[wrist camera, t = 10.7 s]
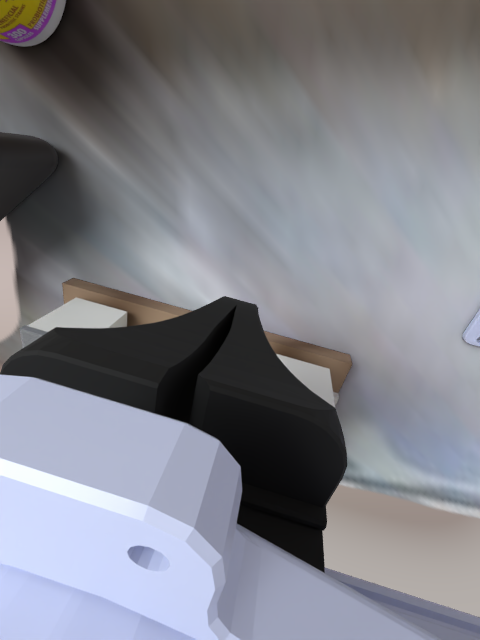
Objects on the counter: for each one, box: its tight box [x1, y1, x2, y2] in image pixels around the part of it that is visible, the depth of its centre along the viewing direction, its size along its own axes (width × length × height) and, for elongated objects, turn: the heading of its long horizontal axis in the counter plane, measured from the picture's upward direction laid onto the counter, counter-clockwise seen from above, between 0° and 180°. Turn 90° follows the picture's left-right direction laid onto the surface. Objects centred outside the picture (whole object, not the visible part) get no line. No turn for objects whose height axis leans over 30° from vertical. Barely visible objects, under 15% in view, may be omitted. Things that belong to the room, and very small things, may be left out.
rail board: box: [62, 278, 352, 406], centre depth 24 cm, size 22×9×2 cm, turn 78°
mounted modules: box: [20, 297, 335, 407], centre depth 21 cm, size 19×8×5 cm, turn 78°
